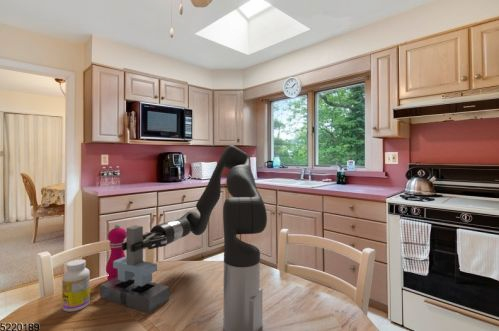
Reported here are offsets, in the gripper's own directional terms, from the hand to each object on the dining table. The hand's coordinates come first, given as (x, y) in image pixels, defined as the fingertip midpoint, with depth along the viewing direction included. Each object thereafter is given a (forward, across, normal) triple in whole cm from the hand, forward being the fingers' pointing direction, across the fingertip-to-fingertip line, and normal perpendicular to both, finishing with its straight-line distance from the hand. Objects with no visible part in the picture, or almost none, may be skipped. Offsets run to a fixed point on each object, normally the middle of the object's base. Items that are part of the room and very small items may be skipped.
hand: (127, 247), depth 77 cm
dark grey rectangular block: (-3, 0, +16) cm, 17 cm away
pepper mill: (-10, -16, +17) cm, 25 cm away
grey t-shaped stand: (-3, 0, +11) cm, 11 cm away
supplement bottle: (+7, -12, +17) cm, 22 cm away
